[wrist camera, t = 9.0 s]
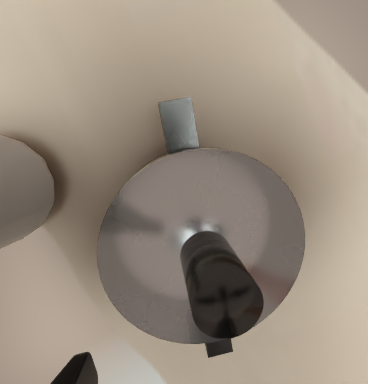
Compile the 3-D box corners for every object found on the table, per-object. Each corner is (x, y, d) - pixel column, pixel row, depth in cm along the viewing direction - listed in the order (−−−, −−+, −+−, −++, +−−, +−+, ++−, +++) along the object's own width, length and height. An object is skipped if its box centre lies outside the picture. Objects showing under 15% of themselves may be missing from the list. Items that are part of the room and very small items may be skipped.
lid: (302, 308, 15) (367, 385, 11) (127, 352, 15) (115, 454, 10) (288, 129, 13) (366, 127, 8) (74, 170, 12) (25, 195, 7)
